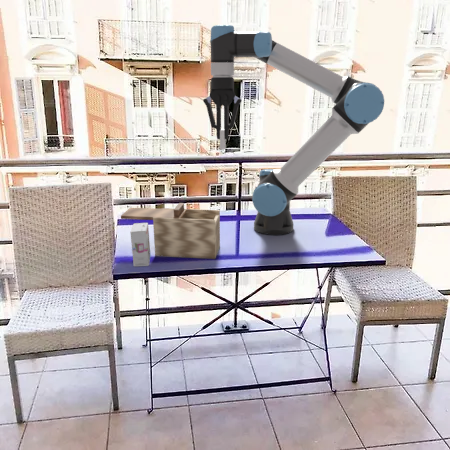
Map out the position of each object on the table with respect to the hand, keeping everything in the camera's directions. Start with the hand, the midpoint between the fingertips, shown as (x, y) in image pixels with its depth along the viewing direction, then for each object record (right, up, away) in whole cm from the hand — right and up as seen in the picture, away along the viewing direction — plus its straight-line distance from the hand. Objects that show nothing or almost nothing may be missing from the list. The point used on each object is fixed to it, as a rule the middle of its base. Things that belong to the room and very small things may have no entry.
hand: (222, 148), depth 158 cm
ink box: (-26, -38, -10) cm, 47 cm away
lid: (-23, -23, -5) cm, 33 cm away
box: (-12, -35, -3) cm, 37 cm away
